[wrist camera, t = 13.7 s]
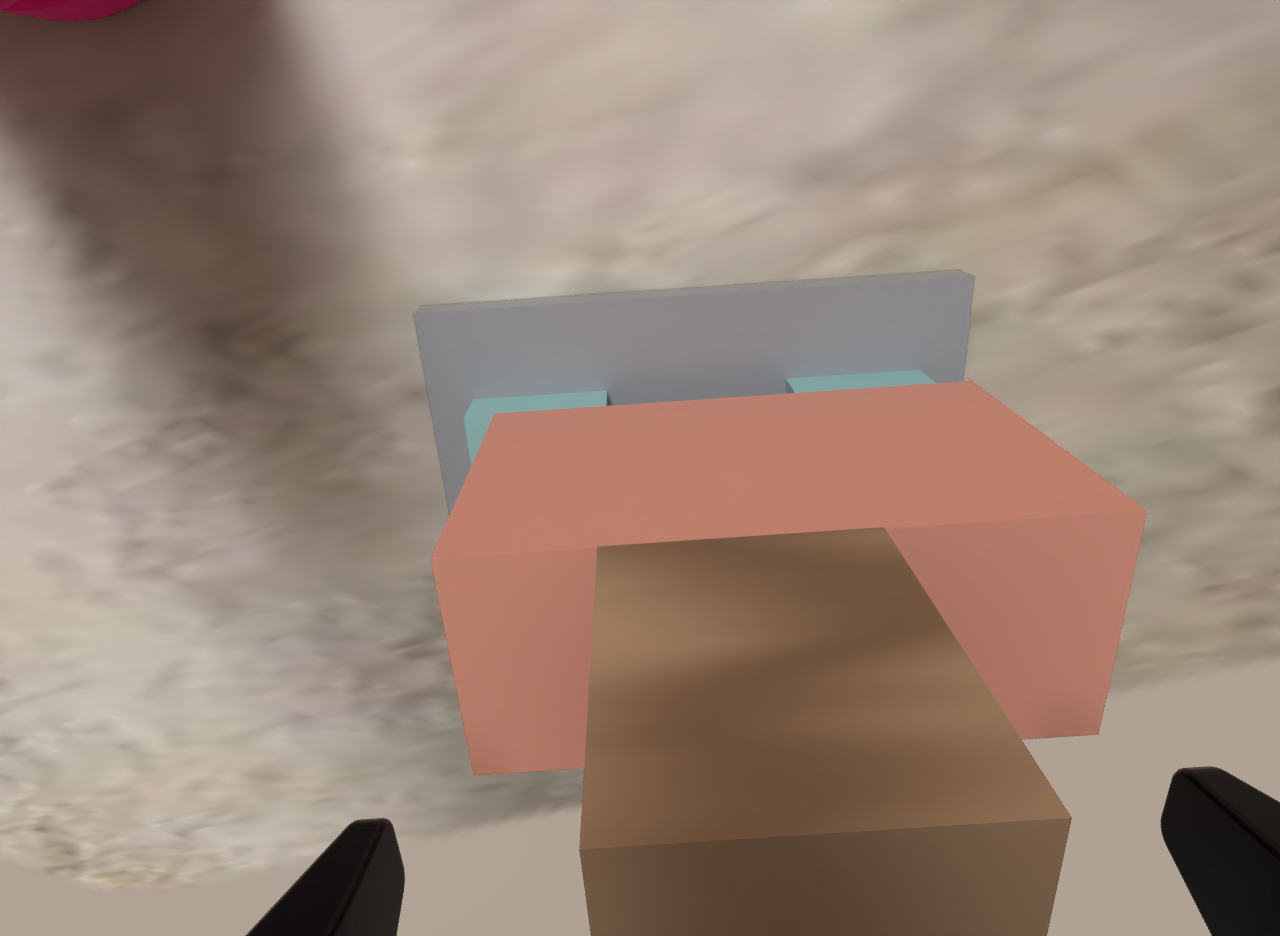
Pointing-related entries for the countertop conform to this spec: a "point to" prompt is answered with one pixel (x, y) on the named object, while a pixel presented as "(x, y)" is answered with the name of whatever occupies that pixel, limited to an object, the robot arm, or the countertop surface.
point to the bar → (781, 504)
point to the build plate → (683, 348)
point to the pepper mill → (65, 8)
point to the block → (800, 752)
